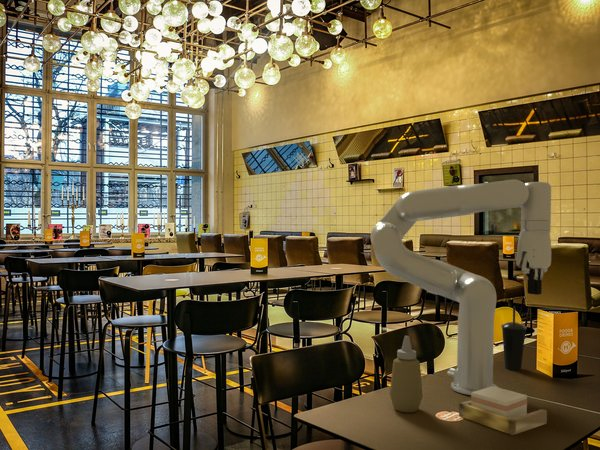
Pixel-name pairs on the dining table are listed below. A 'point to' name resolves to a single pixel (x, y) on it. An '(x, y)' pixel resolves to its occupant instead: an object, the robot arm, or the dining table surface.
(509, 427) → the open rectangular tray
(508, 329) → the drinking cup
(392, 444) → the dining table surface
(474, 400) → the carton
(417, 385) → the squeeze bottle
